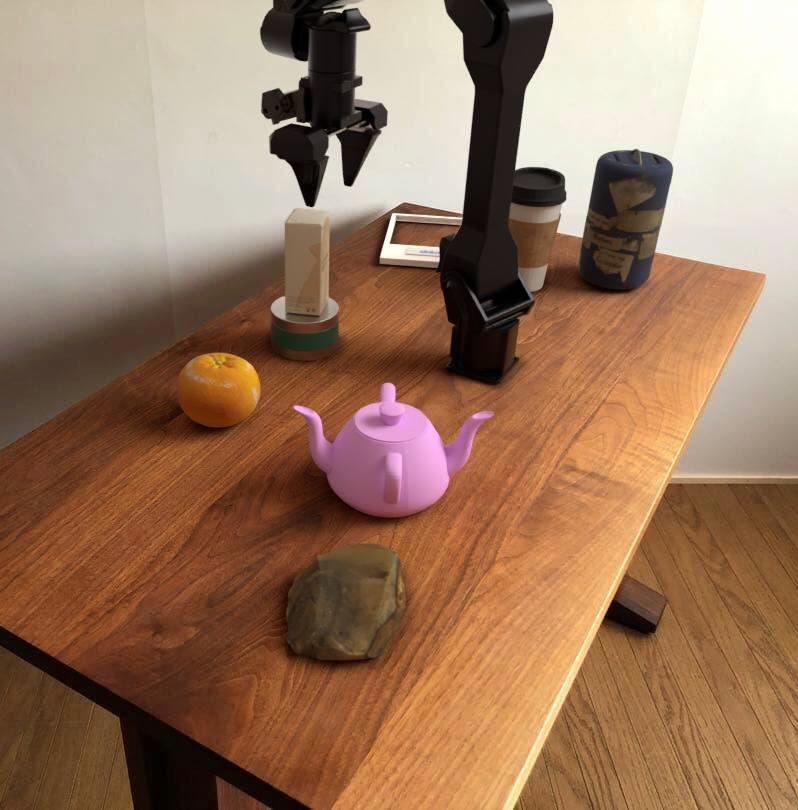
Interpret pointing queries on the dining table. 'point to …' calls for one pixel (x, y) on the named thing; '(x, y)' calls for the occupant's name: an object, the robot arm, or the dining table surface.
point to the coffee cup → (535, 219)
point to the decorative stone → (346, 603)
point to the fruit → (218, 389)
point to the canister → (624, 218)
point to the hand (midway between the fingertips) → (329, 196)
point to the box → (307, 261)
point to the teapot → (389, 456)
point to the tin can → (304, 332)
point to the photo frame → (410, 253)
